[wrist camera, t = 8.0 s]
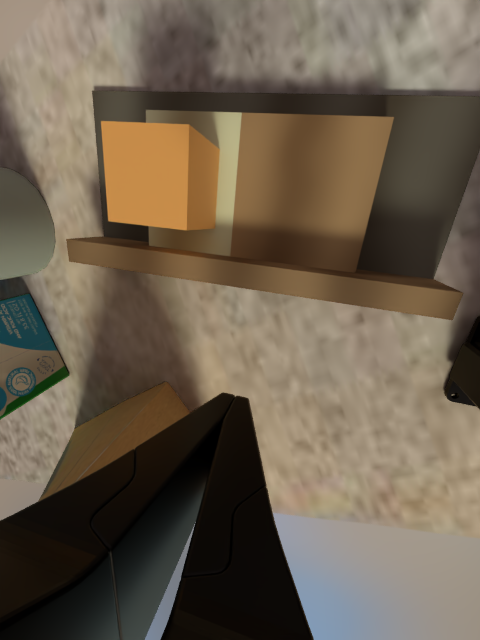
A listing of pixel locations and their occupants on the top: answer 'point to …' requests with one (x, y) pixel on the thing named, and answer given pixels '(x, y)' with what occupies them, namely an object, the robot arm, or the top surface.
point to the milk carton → (25, 354)
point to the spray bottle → (23, 227)
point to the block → (160, 175)
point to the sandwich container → (115, 434)
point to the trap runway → (308, 195)
